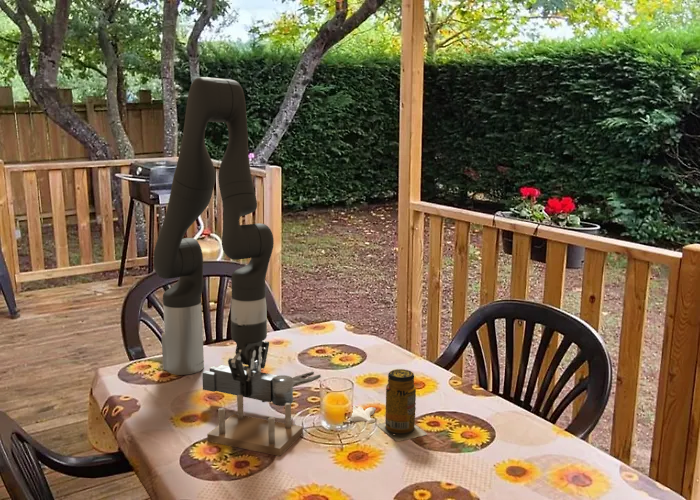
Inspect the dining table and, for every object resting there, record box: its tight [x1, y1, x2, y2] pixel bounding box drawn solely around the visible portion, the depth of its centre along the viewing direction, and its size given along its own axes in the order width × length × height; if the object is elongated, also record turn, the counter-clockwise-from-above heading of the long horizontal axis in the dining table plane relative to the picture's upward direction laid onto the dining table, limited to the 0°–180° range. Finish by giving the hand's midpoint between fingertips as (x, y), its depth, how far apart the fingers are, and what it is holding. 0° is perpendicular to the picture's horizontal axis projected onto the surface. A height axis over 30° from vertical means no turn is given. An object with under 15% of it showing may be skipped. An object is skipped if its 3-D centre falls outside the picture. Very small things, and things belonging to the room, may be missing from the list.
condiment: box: [376, 368, 428, 442], centre depth 138 cm, size 7×8×12 cm
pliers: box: [261, 371, 321, 403], centre depth 162 cm, size 10×1×20 cm
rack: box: [206, 395, 304, 457], centre depth 135 cm, size 16×10×6 cm, turn 68°
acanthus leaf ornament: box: [351, 404, 377, 424], centre depth 145 cm, size 8×7×2 cm
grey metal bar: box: [201, 364, 294, 407], centre depth 148 cm, size 21×4×5 cm, turn 68°
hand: (249, 392), depth 148 cm, fingers closed on grey metal bar, 3 cm apart
